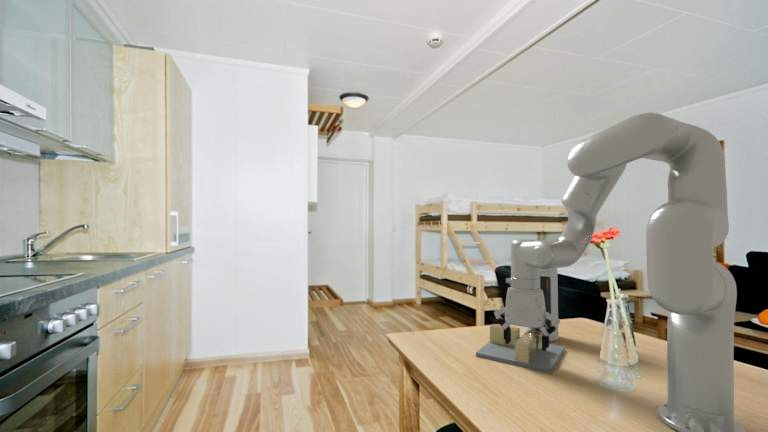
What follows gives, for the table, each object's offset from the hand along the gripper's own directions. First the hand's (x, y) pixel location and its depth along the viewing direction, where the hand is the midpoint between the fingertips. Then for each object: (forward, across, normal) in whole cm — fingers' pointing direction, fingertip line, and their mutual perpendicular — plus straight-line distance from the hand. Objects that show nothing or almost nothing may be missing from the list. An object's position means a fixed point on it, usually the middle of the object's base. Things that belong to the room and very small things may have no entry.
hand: (525, 346), depth 100 cm
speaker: (+4, -1, +25) cm, 25 cm away
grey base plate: (+4, -3, +6) cm, 7 cm away
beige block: (+3, 0, +3) cm, 4 cm away
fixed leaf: (+3, -5, +8) cm, 10 cm away
